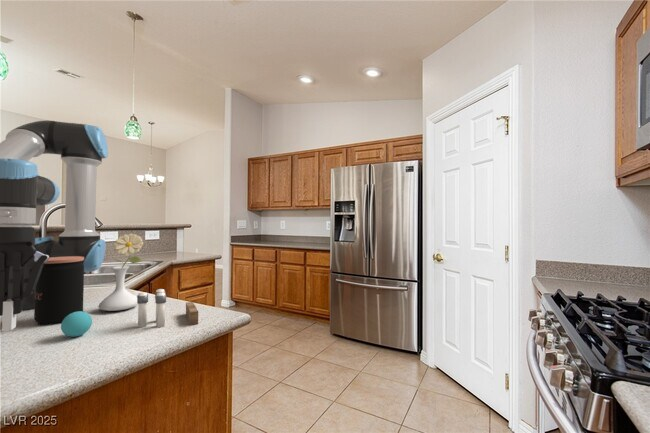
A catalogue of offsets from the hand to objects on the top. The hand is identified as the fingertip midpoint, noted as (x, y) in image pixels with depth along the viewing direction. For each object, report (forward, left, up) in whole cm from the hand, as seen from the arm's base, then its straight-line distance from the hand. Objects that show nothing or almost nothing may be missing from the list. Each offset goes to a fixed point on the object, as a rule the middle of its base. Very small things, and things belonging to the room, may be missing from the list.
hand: (9, 328), depth 68 cm
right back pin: (+2, +30, -4) cm, 31 cm away
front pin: (0, +26, -4) cm, 26 cm away
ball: (0, +12, -1) cm, 12 cm away
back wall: (0, +39, -4) cm, 39 cm away
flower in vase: (-23, +20, -4) cm, 31 cm away
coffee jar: (-19, +5, -4) cm, 20 cm away
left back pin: (-3, +30, -4) cm, 31 cm away
